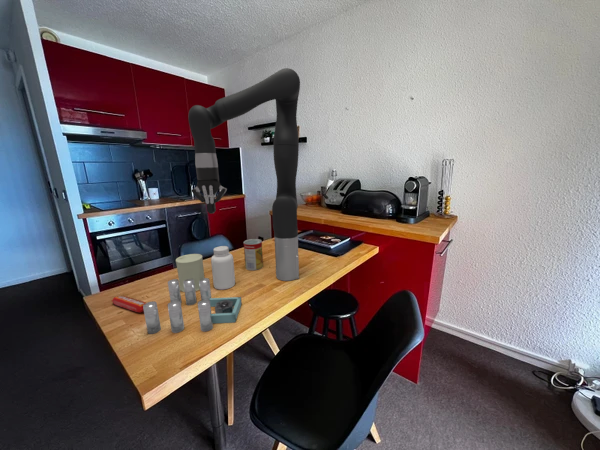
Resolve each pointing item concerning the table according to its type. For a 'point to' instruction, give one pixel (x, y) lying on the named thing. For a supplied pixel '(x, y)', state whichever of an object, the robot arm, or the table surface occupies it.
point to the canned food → (253, 254)
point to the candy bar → (129, 303)
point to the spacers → (175, 306)
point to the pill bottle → (222, 268)
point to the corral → (226, 316)
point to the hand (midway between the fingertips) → (211, 213)
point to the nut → (224, 307)
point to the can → (190, 269)
